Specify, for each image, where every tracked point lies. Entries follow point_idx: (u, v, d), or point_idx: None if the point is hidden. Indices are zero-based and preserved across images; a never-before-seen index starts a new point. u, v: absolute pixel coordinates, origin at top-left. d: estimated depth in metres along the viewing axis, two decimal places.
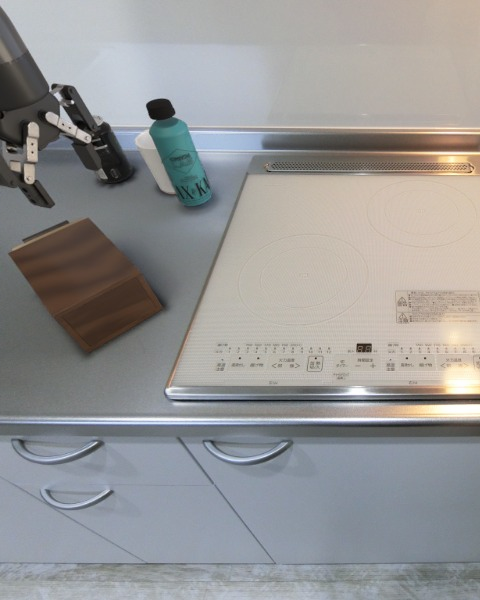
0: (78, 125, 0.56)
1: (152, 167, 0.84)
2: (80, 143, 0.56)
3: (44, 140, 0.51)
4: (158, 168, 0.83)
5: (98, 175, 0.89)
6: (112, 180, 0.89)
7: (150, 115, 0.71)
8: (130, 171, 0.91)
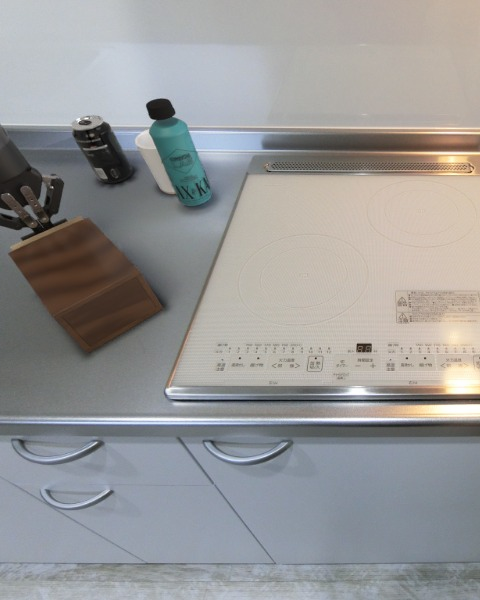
0: (44, 207, 0.69)
1: (152, 167, 0.84)
2: (40, 221, 0.69)
3: (19, 204, 0.66)
4: (158, 168, 0.83)
5: (98, 175, 0.89)
6: (112, 180, 0.89)
7: (150, 115, 0.71)
8: (130, 171, 0.91)
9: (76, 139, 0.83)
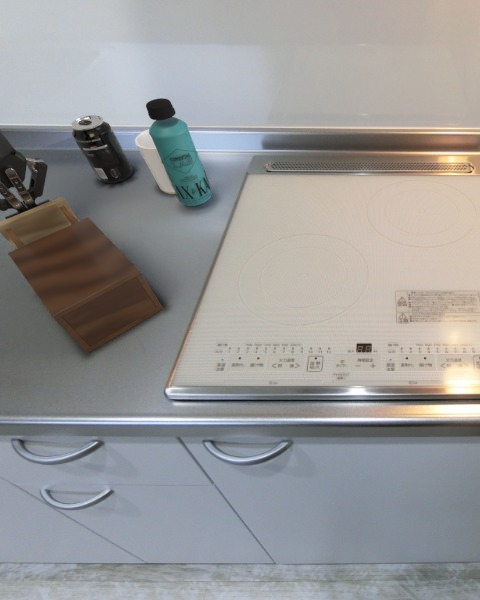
0: (28, 189, 0.73)
1: (152, 167, 0.84)
2: (25, 203, 0.73)
3: (5, 185, 0.69)
4: (158, 168, 0.83)
5: (98, 175, 0.89)
6: (112, 180, 0.89)
7: (150, 115, 0.71)
8: (130, 171, 0.91)
9: (76, 139, 0.83)
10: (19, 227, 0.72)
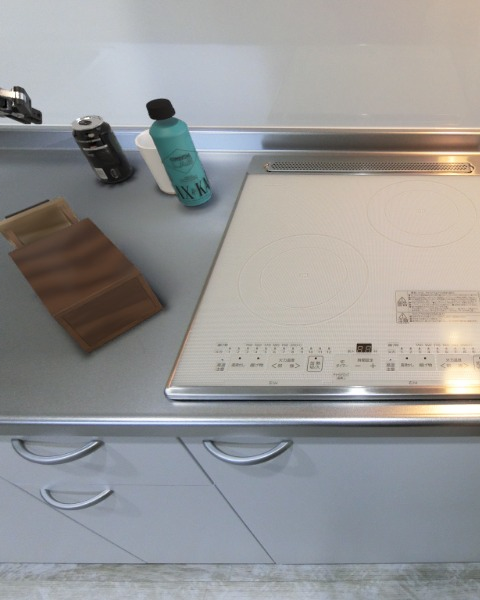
0: None
1: (152, 167, 0.84)
2: None
3: None
4: (158, 168, 0.83)
5: (98, 175, 0.89)
6: (112, 180, 0.89)
7: (150, 115, 0.71)
8: (130, 171, 0.91)
9: (76, 139, 0.83)
10: (19, 227, 0.72)
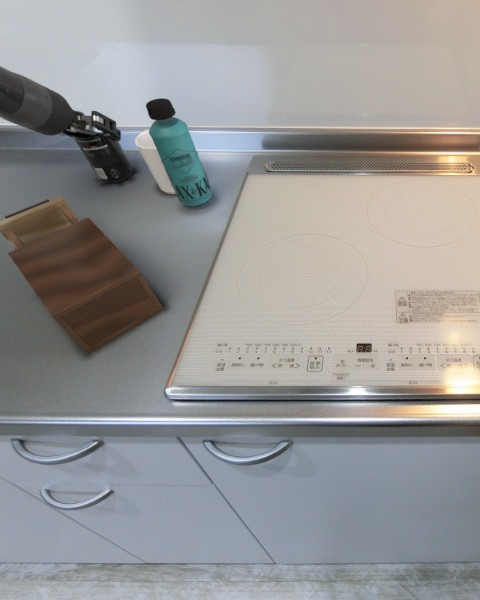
0: None
1: (152, 167, 0.84)
2: None
3: None
4: (158, 168, 0.83)
5: (98, 175, 0.89)
6: (112, 180, 0.89)
7: (150, 115, 0.71)
8: (130, 171, 0.91)
9: (76, 139, 0.83)
10: (19, 227, 0.72)
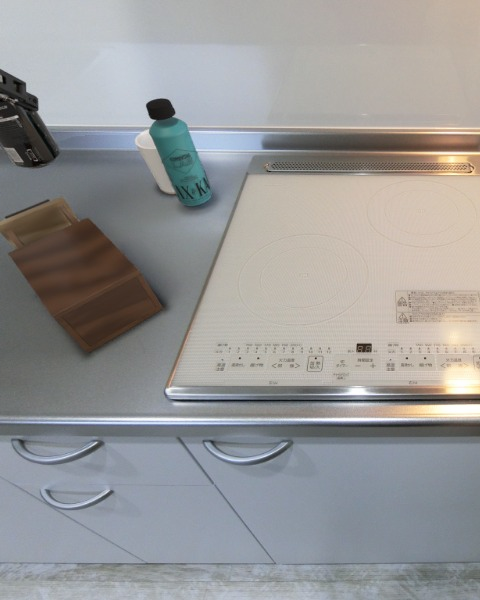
0: (12, 86, 0.60)
1: (152, 167, 0.84)
2: None
3: None
4: (158, 168, 0.83)
5: (11, 158, 0.67)
6: (30, 164, 0.67)
7: (150, 115, 0.71)
8: (56, 153, 0.70)
9: None
10: (19, 227, 0.72)
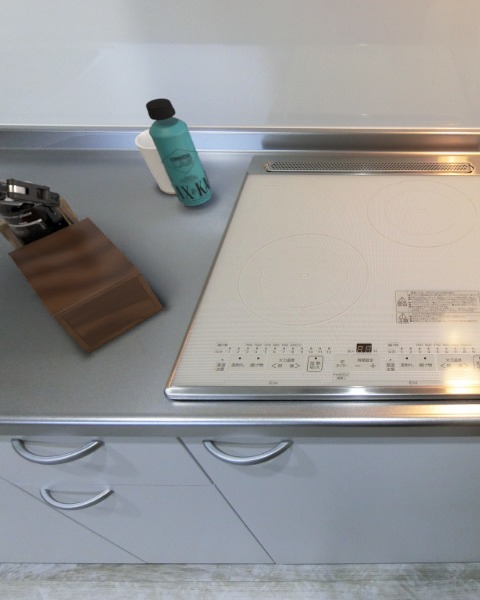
0: (37, 192, 0.62)
1: (152, 167, 0.84)
2: None
3: None
4: (158, 168, 0.83)
5: None
6: None
7: (150, 115, 0.71)
8: None
9: None
10: None
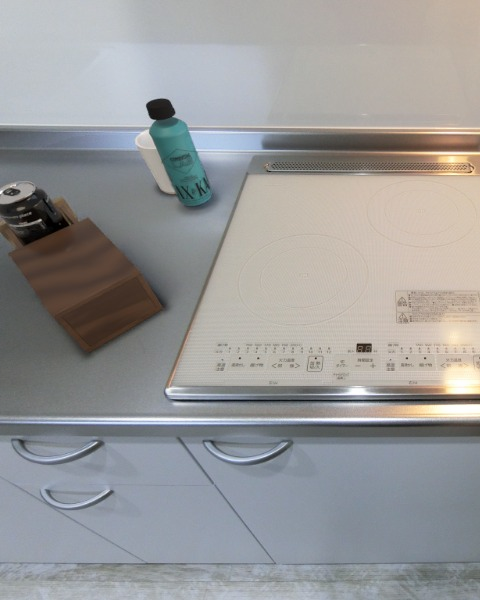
0: None
1: (152, 167, 0.84)
2: None
3: None
4: (158, 168, 0.83)
5: None
6: None
7: (150, 115, 0.71)
8: None
9: None
10: None
